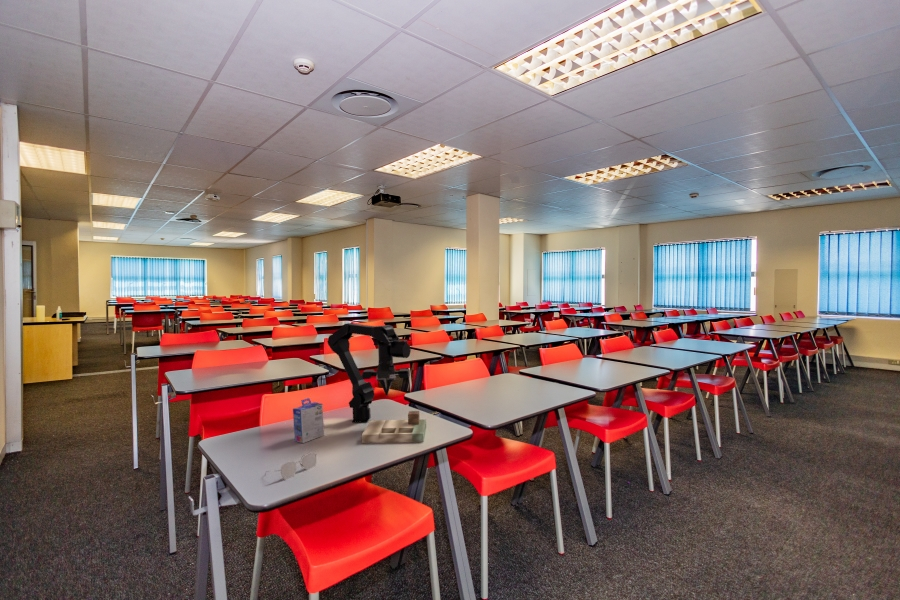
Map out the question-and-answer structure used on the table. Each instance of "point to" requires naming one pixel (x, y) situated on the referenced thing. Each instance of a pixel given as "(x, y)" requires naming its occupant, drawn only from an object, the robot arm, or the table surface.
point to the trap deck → (393, 431)
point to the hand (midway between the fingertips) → (386, 395)
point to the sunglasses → (290, 467)
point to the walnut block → (413, 418)
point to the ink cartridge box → (308, 421)
